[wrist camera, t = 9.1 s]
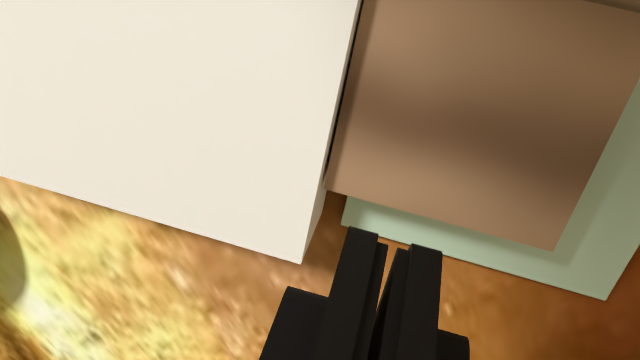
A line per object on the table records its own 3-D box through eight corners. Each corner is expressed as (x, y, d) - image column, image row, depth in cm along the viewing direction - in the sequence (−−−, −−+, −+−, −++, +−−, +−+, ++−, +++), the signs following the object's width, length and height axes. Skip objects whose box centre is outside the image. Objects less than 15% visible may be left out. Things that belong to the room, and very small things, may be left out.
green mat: (442, -179, 19) (441, -179, 19) (832, -94, 18) (842, -92, 18) (342, 217, 28) (340, 224, 27) (602, 291, 27) (605, 300, 26)
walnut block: (384, -61, 21) (374, -49, 19) (648, -1, 20) (668, 20, 18) (336, 159, 26) (323, 188, 23) (546, 215, 25) (552, 251, 23)
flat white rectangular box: (-37, -283, 21) (-137, -304, 17) (412, -186, 19) (398, -188, 16) (8, 122, 29) (-52, 160, 26) (322, 211, 28) (300, 264, 24)
